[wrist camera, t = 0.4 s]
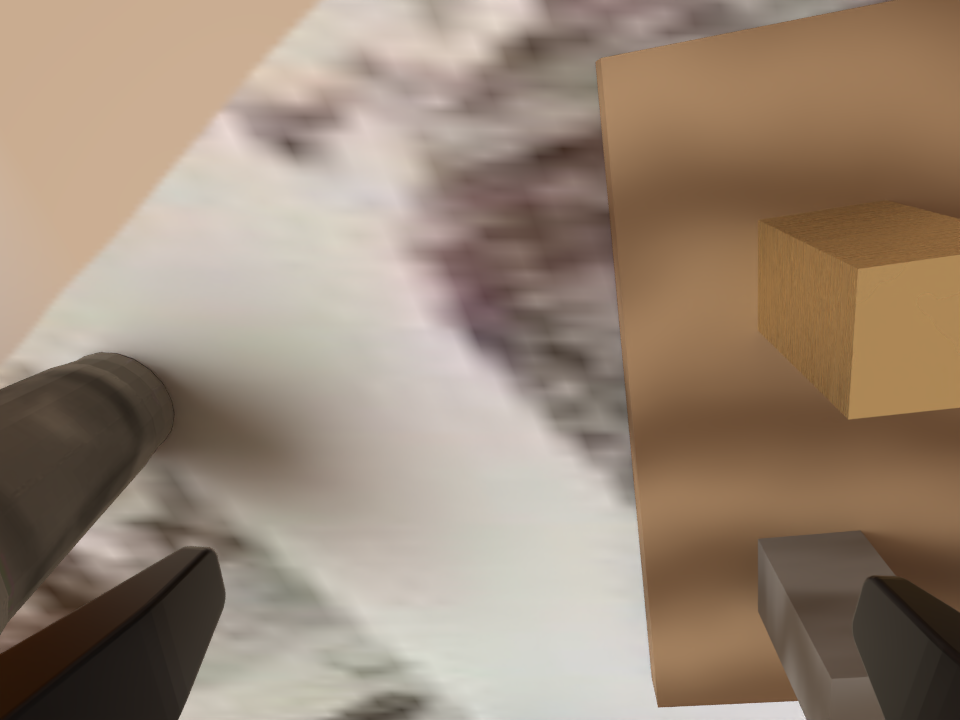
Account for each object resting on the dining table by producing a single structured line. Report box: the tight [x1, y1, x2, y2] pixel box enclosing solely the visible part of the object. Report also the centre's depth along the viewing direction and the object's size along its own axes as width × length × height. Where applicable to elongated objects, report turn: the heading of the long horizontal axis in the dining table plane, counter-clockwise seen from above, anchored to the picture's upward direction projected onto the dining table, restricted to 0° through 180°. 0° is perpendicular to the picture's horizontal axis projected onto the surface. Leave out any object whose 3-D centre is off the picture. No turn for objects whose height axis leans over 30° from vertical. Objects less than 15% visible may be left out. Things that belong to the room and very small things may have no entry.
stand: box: [596, 0, 960, 720], centre depth 19 cm, size 26×12×8 cm, turn 10°
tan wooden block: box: [758, 200, 960, 420], centre depth 16 cm, size 4×4×6 cm
